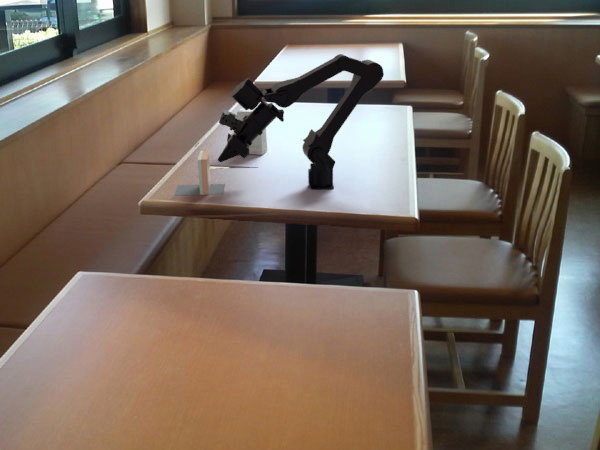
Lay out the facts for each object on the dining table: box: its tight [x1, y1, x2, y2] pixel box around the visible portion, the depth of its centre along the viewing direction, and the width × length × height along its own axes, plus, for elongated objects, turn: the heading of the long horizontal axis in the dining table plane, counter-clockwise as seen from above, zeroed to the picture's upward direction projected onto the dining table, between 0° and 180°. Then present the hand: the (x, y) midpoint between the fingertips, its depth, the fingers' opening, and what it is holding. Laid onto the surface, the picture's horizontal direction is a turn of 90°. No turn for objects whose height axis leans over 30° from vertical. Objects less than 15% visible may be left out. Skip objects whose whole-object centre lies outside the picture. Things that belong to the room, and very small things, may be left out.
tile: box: [197, 150, 212, 196], centre depth 186 cm, size 2×9×10 cm, turn 3°
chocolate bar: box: [210, 164, 259, 170], centre depth 206 cm, size 9×1×18 cm
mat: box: [174, 183, 226, 196], centre depth 188 cm, size 14×9×1 cm, turn 93°
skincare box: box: [236, 107, 268, 156], centre depth 223 cm, size 8×6×15 cm
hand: (218, 160), depth 185 cm, fingers closed
